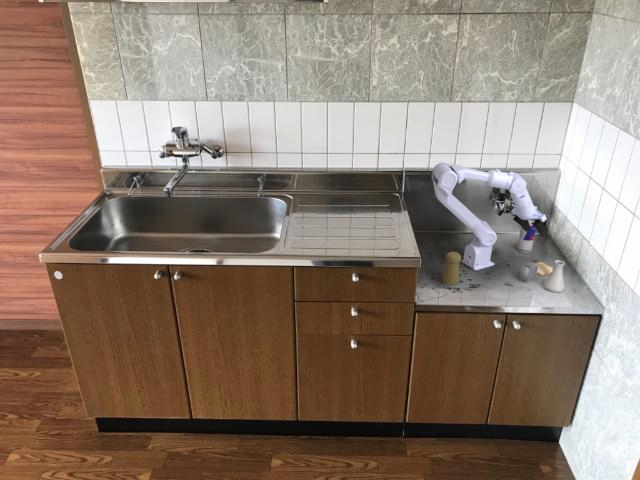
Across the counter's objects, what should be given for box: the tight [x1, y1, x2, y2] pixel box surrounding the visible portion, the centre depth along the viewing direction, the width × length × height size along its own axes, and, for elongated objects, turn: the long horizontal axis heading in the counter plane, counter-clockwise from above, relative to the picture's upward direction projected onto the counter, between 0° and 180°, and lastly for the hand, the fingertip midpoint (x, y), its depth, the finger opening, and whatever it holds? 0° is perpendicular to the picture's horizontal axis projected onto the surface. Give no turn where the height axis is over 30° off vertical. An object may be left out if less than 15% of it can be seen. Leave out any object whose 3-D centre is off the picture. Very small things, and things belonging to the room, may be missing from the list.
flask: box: [542, 259, 566, 293], centre depth 177 cm, size 7×7×10 cm
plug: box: [517, 262, 539, 283], centre depth 184 cm, size 8×4×5 cm, turn 117°
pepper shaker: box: [441, 251, 462, 286], centre depth 181 cm, size 6×6×11 cm
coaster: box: [533, 261, 554, 277], centre depth 190 cm, size 7×7×1 cm
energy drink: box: [516, 219, 537, 254], centre depth 201 cm, size 5×5×12 cm
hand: (535, 232), depth 190 cm, fingers open, 7 cm apart
